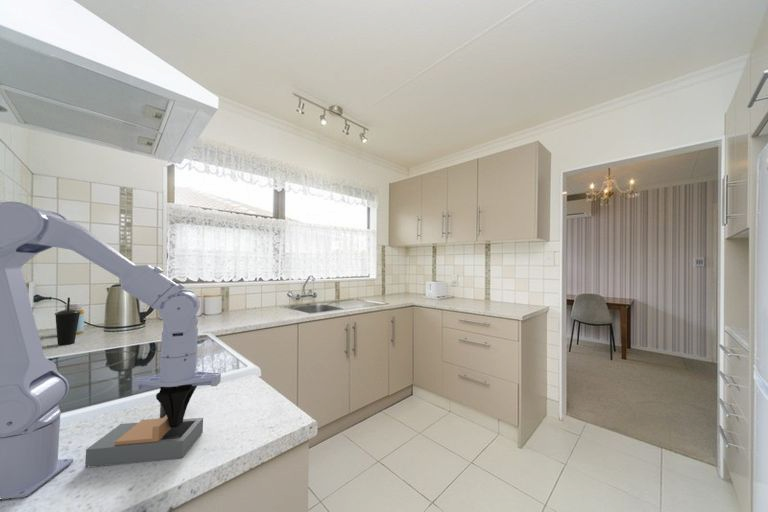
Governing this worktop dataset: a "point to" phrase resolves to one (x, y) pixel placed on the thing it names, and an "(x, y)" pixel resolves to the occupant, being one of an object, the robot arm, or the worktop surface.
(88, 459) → the socket block
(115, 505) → the worktop surface
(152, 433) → the tan l-shaped bracket
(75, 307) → the bottle
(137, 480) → the worktop surface
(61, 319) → the drinking cup
